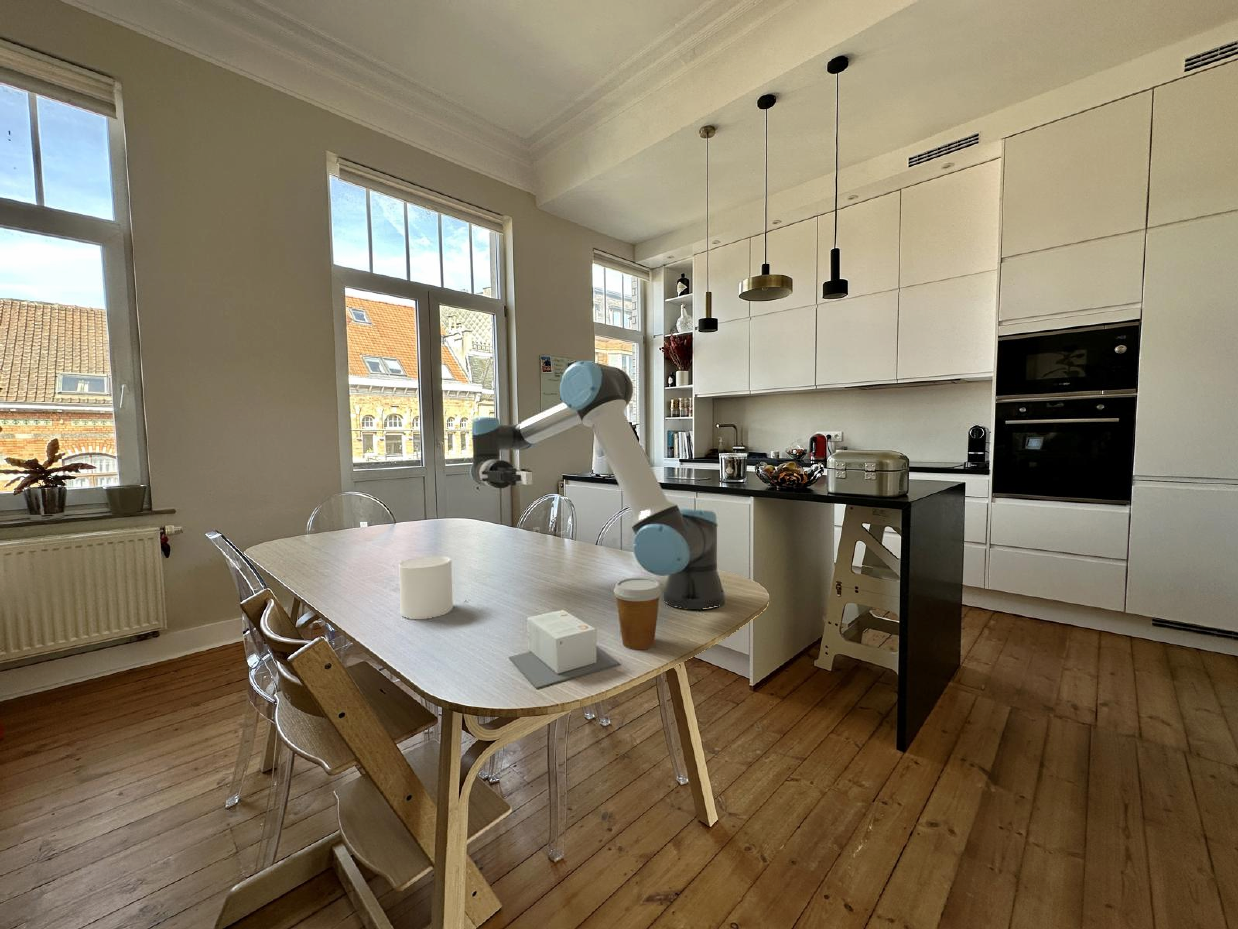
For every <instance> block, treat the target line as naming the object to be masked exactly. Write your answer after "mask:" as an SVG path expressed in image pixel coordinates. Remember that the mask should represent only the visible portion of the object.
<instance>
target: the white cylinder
mask: <svg viewBox="0 0 1238 929" xmlns="http://www.w3.org/2000/svg"><path fill="white" fill-rule="evenodd" d="M452 572H453V571H452V559H451V558H449V557H446V556H437V555H435V556H423V557H415V558H414V557H413V558H411V559H407V560H404V561H401V562H400V563H399V565H398V576H399V577H398V578H399V579H398V580H399V602H400V603H399V604H400V605H399V606H400V607H399V608H400V609H399V610H400V616H401V615H402V616H404V617H406V618H405V619H407V618H409V620H415V619H417V620H428V619H427V618H429V619H433V618H432V617H434V618H438V617H442V616H443V615H446V614H448V613H450V612H452V610H453V605H454V603H453V576H452ZM441 615H442V616H441ZM402 616H401V617H402ZM437 616H438V617H437ZM404 617H403V618H404Z"/></svg>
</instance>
